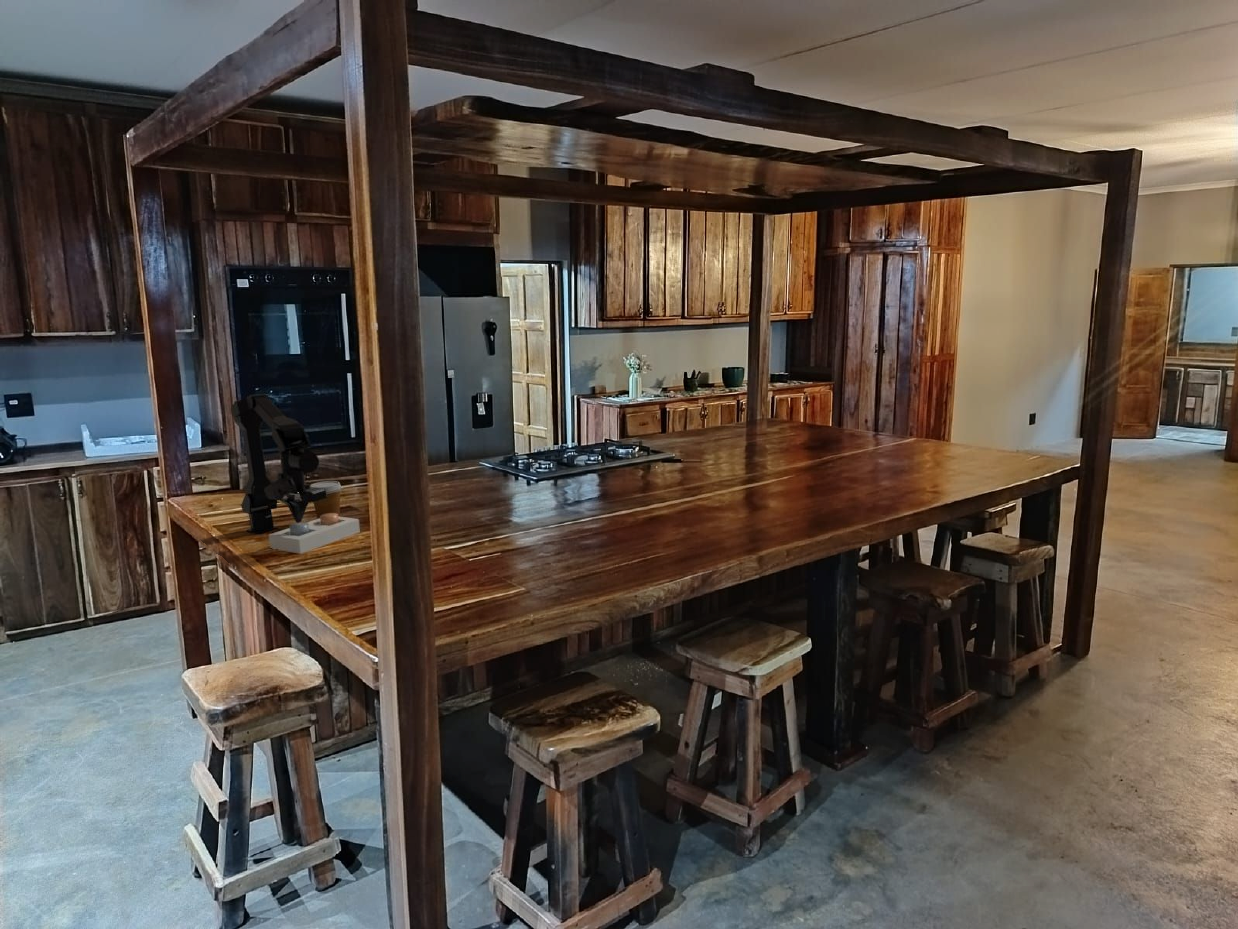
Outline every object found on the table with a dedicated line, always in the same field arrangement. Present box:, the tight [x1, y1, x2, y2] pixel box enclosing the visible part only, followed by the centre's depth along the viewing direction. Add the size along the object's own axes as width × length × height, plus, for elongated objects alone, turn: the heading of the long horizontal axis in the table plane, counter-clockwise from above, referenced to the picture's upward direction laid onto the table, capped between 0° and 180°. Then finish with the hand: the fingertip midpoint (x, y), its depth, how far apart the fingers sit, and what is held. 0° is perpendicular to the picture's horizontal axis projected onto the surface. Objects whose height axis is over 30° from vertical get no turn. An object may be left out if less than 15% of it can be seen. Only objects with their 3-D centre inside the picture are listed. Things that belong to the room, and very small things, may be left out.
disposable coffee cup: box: [309, 480, 343, 519], centre depth 259 cm, size 10×10×12 cm
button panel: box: [268, 516, 361, 555], centre depth 241 cm, size 12×22×4 cm, turn 152°
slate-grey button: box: [289, 522, 309, 536], centre depth 235 cm, size 5×5×3 cm
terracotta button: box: [320, 513, 339, 526], centre depth 245 cm, size 5×5×3 cm
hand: (298, 522), depth 235 cm, fingers closed
